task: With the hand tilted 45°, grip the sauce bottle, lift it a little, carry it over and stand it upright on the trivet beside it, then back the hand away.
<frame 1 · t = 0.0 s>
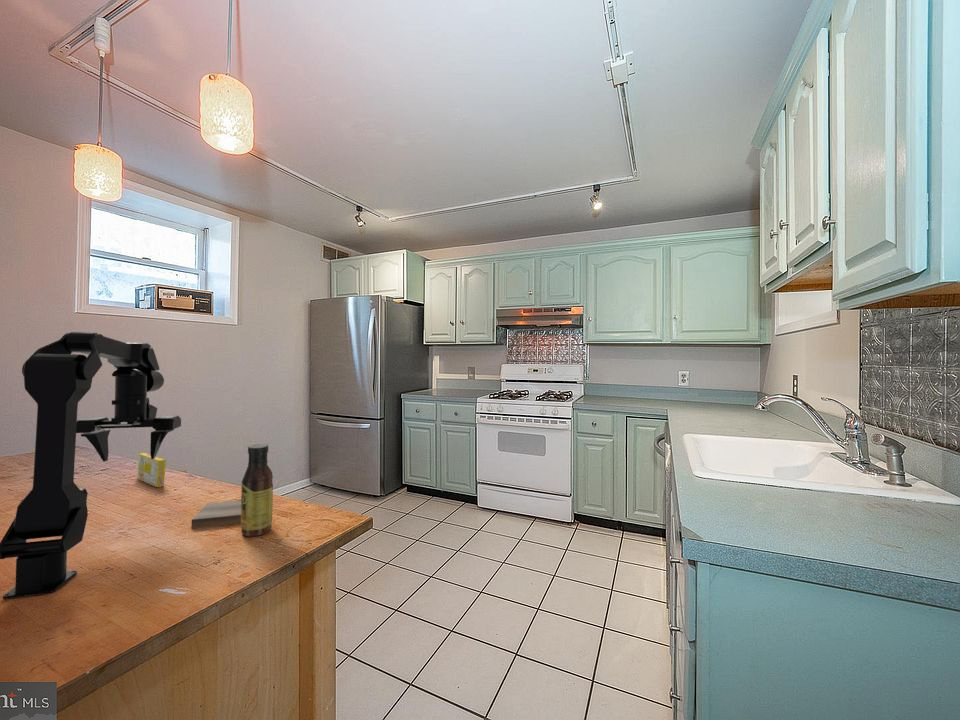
hand: (129, 459, 93), 15 cm above the counter, tool pointing down, fingers open, 9 cm apart
trivet: (225, 516, 97), on the counter
candy box: (150, 483, 122), on the counter
sauce bottle: (256, 533, 89), on the counter
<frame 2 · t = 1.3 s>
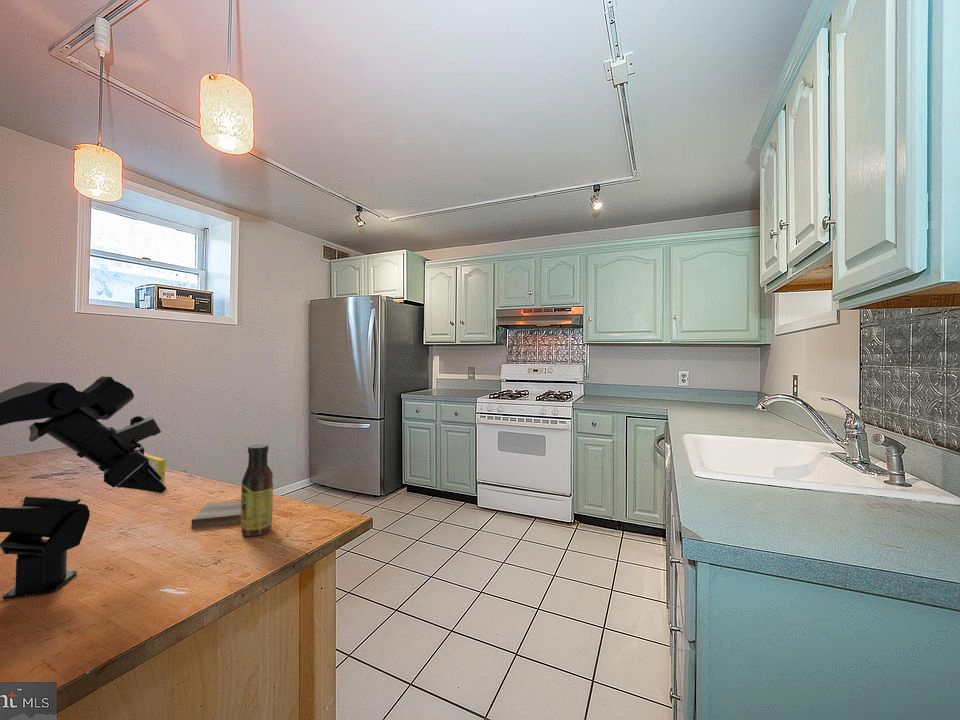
hand: (162, 485, 80), 13 cm above the counter, tool tilted 45°, fingers open, 9 cm apart
nothing on the counter moved.
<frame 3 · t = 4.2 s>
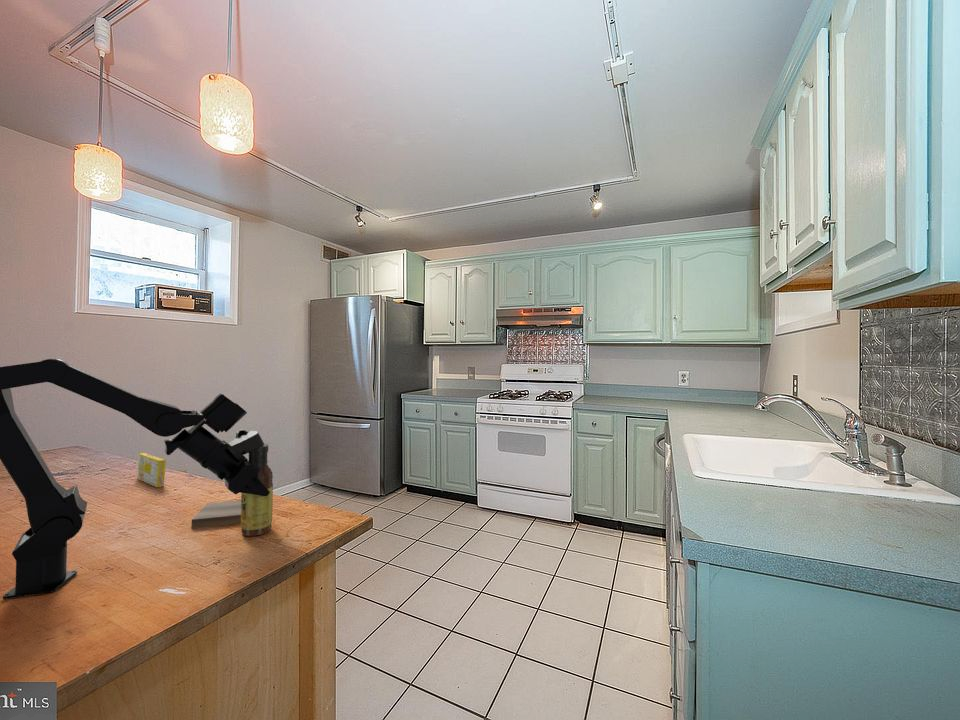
hand: (264, 490, 90), 9 cm above the counter, tool tilted 45°, fingers closed on sauce bottle, 6 cm apart
sauce bottle: (256, 532, 89), on the counter, touching gripper
everything else where it was.
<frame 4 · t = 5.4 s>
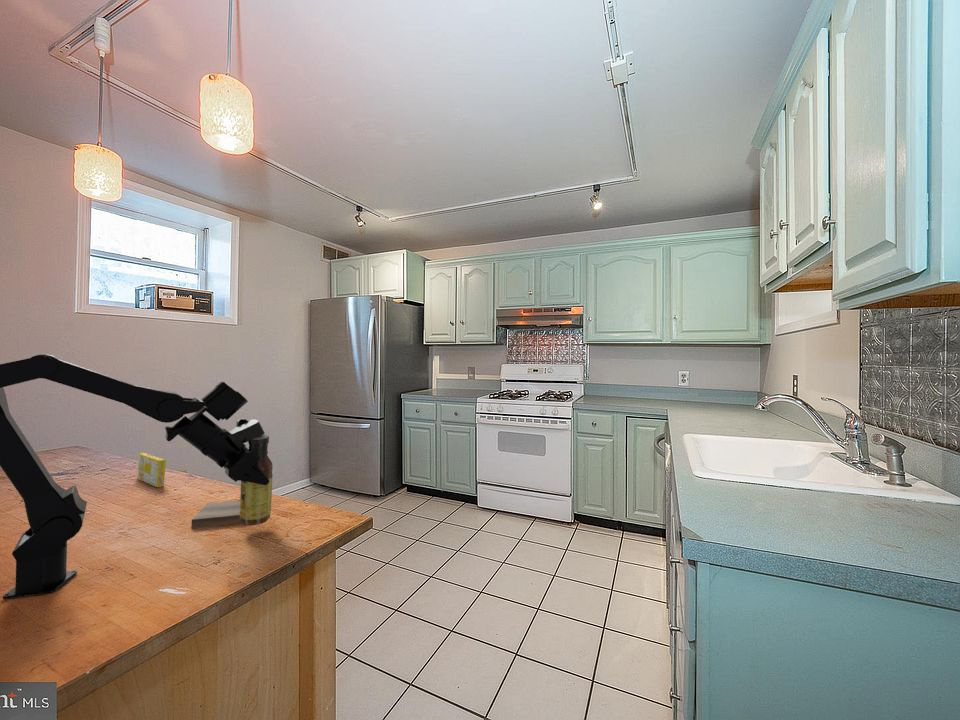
hand: (264, 480, 90), 12 cm above the counter, tool tilted 45°, fingers closed on sauce bottle, 6 cm apart
sauce bottle: (255, 521, 89), point 2 cm above the counter, touching gripper
everything else where it was.
when the fingers open (12 cm above the counter, at t = 8.0 s): sauce bottle stays where it is, resting on trivet.
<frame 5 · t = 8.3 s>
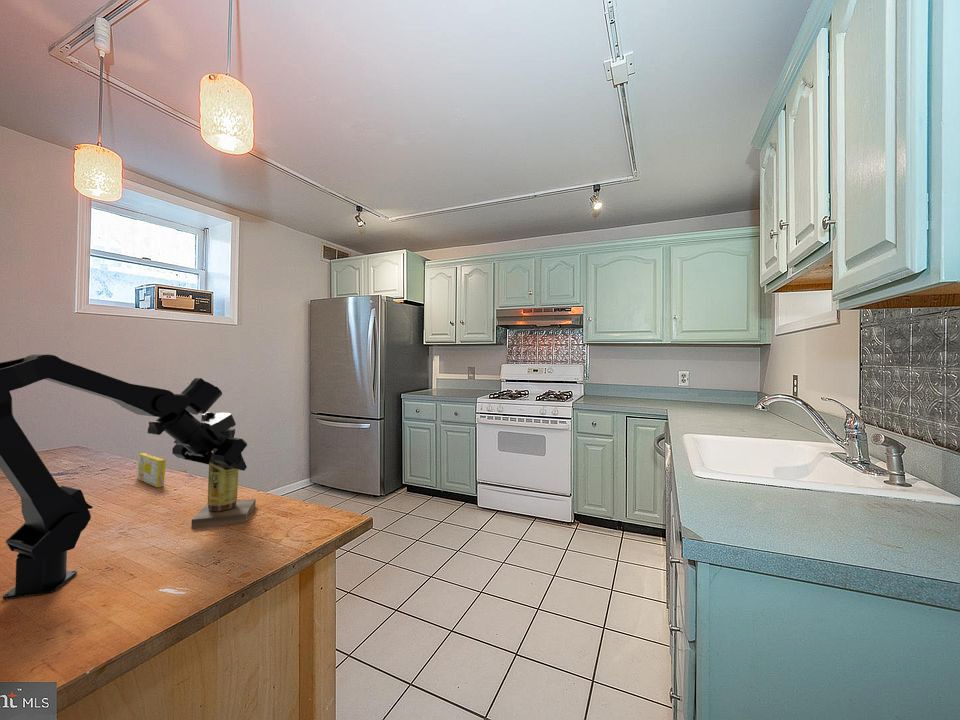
hand: (232, 466, 99), 12 cm above the counter, tool tilted 45°, fingers open, 9 cm apart
sauce bottle: (222, 509, 97), point 2 cm above the counter, touching trivet
everything else where it was.
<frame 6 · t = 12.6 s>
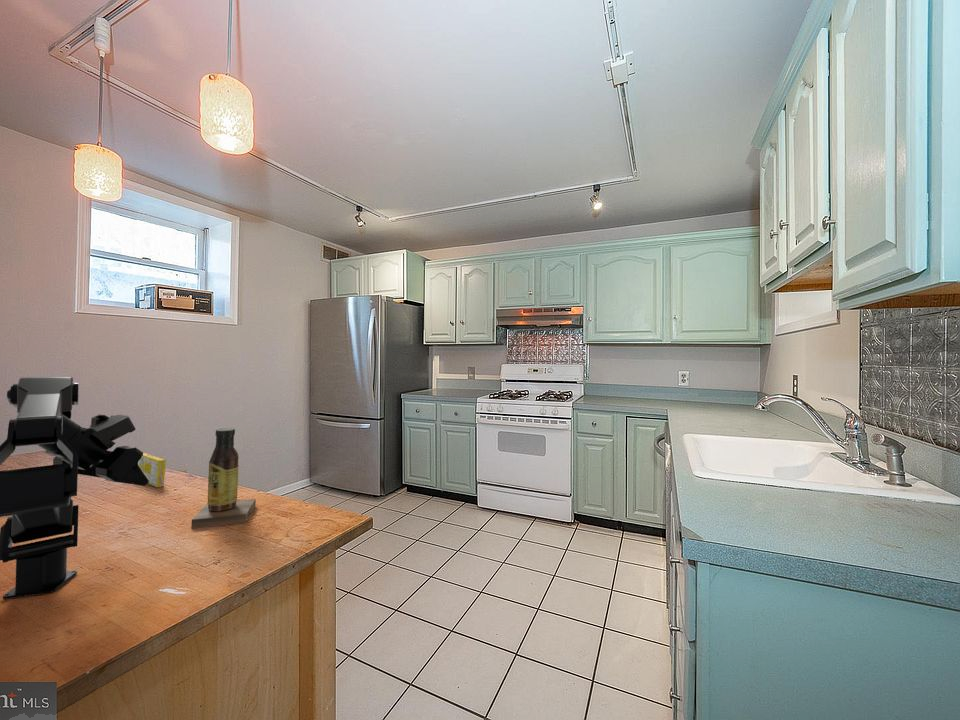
hand: (132, 480, 81), 14 cm above the counter, tool tilted 45°, fingers open, 9 cm apart
nothing on the counter moved.
at the end: sauce bottle 0.9 cm off-centre on the trivet, point 1.8 cm above the trivet's base; sauce bottle tilted 0°; the gripper is holding nothing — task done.
